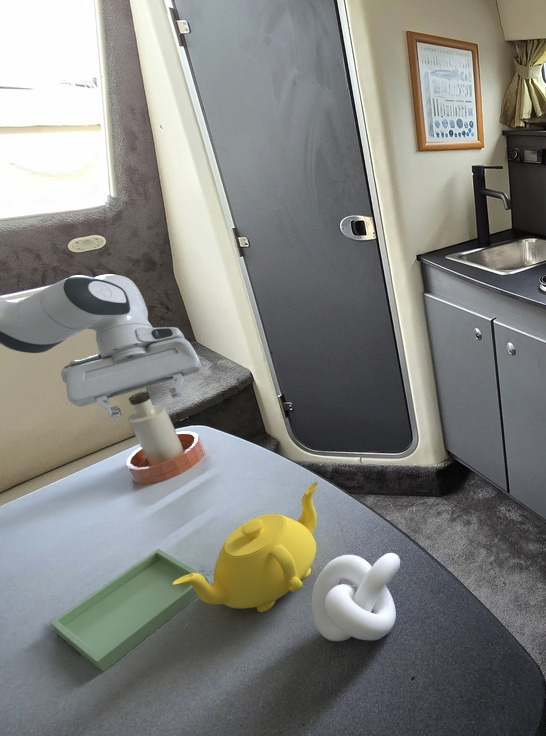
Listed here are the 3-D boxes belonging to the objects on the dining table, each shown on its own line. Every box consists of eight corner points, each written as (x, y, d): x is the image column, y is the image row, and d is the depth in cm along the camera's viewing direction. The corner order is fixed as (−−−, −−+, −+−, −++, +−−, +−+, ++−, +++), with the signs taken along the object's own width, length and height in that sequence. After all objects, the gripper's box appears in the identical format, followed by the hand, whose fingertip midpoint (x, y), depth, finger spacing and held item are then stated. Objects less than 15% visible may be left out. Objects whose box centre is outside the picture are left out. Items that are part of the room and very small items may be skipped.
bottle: (147, 471, 100) (113, 400, 93) (178, 453, 104) (147, 385, 98) (162, 478, 98) (128, 407, 91) (194, 460, 102) (163, 391, 96)
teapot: (234, 670, 64) (204, 610, 60) (178, 619, 71) (148, 562, 67) (365, 551, 81) (349, 497, 76) (310, 519, 87) (292, 468, 83)
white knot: (420, 632, 68) (408, 586, 65) (323, 685, 62) (304, 638, 59) (402, 570, 77) (391, 528, 74) (316, 612, 71) (300, 568, 68)
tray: (56, 632, 70) (49, 623, 69) (163, 557, 81) (158, 548, 80) (103, 672, 65) (96, 662, 64) (211, 586, 76) (206, 576, 75)
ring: (123, 480, 99) (113, 460, 97) (187, 445, 108) (179, 426, 107) (154, 496, 94) (144, 476, 92) (218, 458, 104) (211, 438, 102)
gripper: (52, 359, 94) (68, 424, 90) (186, 325, 106) (206, 381, 102) (65, 370, 98) (81, 433, 95) (192, 337, 111) (211, 391, 107)
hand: (147, 406), depth 99 cm, fingers open, 8 cm apart
